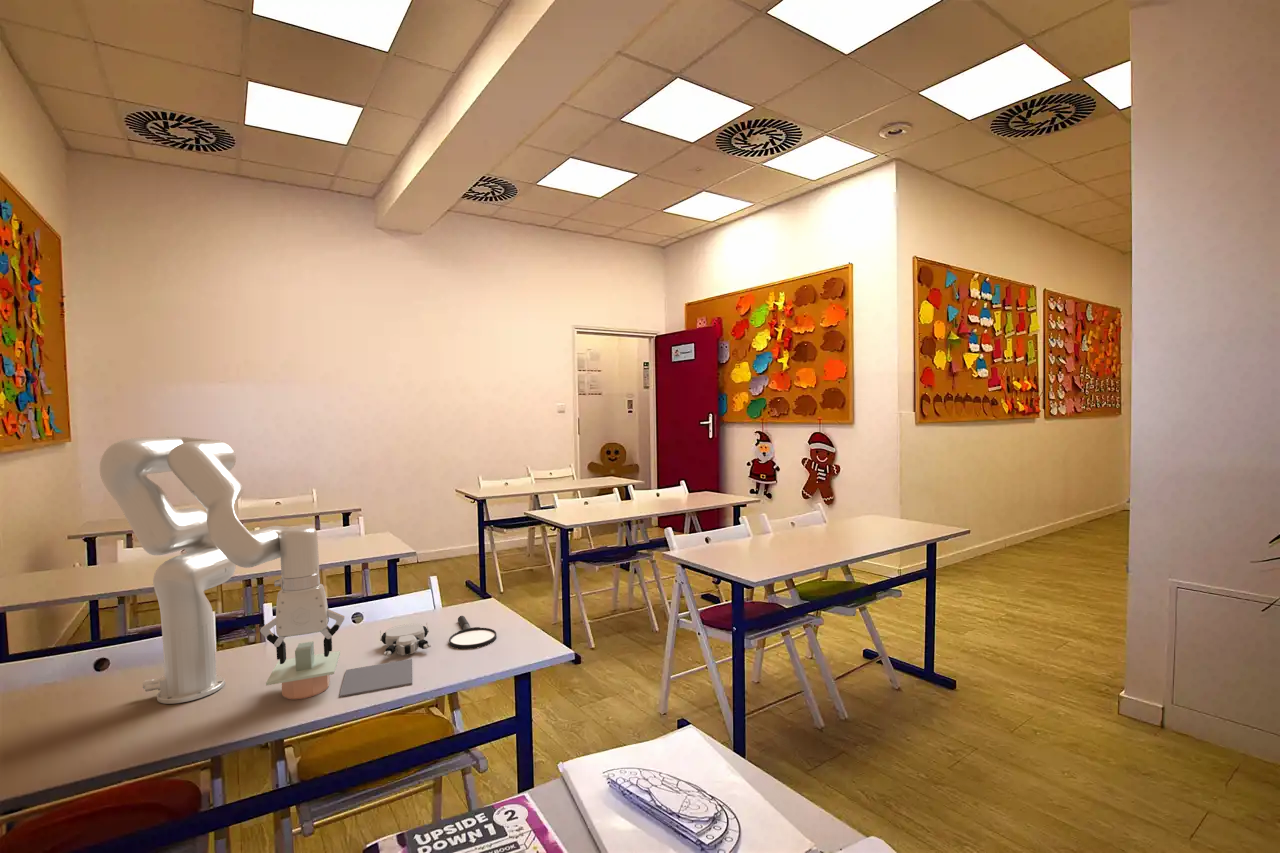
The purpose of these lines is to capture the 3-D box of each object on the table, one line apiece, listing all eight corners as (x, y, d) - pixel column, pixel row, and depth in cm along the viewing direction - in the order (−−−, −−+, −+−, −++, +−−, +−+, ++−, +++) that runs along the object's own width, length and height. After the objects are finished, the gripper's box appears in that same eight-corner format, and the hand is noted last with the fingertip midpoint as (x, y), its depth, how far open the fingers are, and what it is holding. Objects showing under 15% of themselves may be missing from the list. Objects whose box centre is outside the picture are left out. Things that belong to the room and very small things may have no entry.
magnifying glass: (482, 618, 185) (482, 611, 185) (501, 645, 163) (501, 637, 163) (439, 626, 179) (439, 619, 179) (453, 655, 158) (453, 647, 158)
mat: (339, 697, 134) (339, 695, 134) (346, 671, 148) (346, 669, 148) (412, 684, 140) (412, 682, 140) (412, 660, 154) (412, 658, 154)
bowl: (279, 702, 133) (278, 680, 133) (287, 685, 141) (286, 664, 141) (326, 694, 136) (325, 672, 136) (331, 678, 144) (330, 657, 144)
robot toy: (433, 657, 158) (427, 634, 171) (432, 640, 157) (426, 619, 171) (382, 667, 153) (380, 643, 166) (381, 649, 152) (379, 627, 166)
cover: (266, 685, 130) (265, 661, 130) (278, 662, 142) (277, 641, 142) (333, 674, 135) (332, 651, 135) (340, 653, 147) (339, 632, 147)
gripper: (252, 592, 132) (257, 671, 132) (341, 581, 138) (346, 657, 138) (260, 583, 139) (265, 659, 139) (345, 573, 145) (349, 646, 145)
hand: (305, 658), depth 139 cm, fingers open, 8 cm apart
